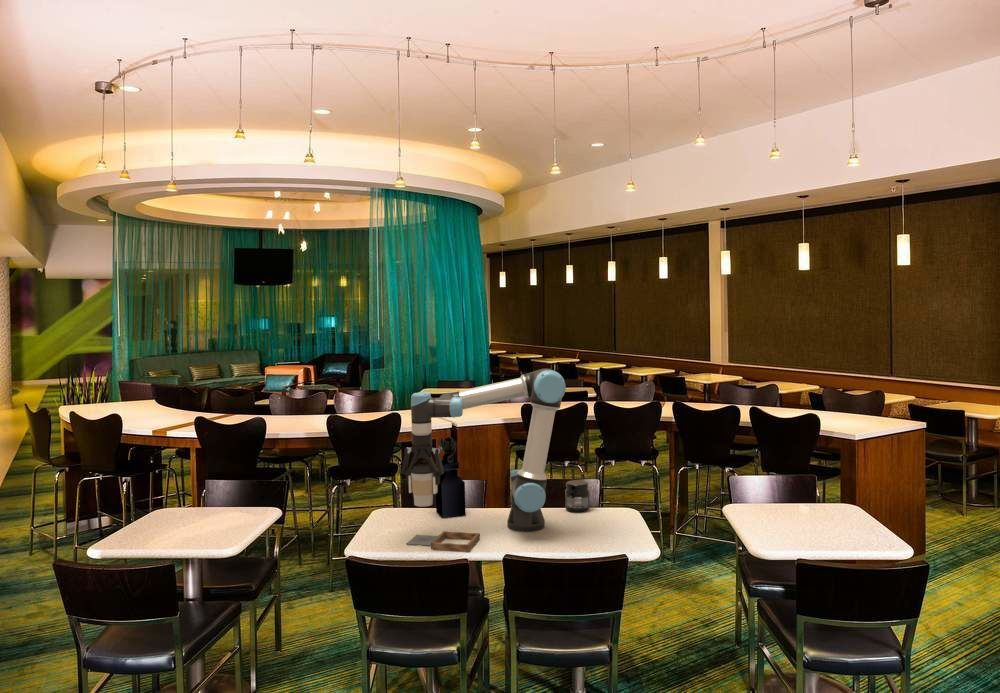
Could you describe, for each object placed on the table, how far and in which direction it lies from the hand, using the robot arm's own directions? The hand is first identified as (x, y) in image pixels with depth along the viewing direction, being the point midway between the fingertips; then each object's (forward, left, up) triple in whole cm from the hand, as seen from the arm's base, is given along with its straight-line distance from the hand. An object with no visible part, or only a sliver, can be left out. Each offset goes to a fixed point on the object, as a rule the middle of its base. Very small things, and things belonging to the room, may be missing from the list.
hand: (423, 492), depth 275 cm
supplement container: (-51, -52, -19) cm, 75 cm away
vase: (+2, -37, -19) cm, 42 cm away
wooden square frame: (-13, +2, -19) cm, 23 cm away
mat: (0, 0, -19) cm, 19 cm away
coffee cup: (0, 0, -5) cm, 5 cm away
